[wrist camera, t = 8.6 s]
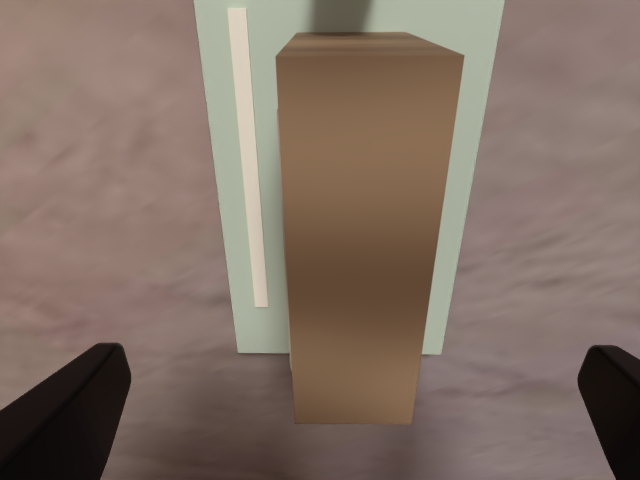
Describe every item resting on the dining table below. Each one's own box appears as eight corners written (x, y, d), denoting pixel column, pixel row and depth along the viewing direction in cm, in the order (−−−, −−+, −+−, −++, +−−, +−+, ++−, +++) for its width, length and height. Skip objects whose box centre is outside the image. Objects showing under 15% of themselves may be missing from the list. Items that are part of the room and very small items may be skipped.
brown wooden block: (384, 290, 19) (411, 424, 13) (301, 290, 19) (289, 423, 13) (405, 31, 14) (464, 55, 8) (292, 32, 14) (267, 56, 8)
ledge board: (435, 337, 22) (457, 404, 19) (242, 336, 22) (225, 402, 19) (509, -102, 14) (577, -140, 10) (191, -100, 14) (141, -137, 10)
